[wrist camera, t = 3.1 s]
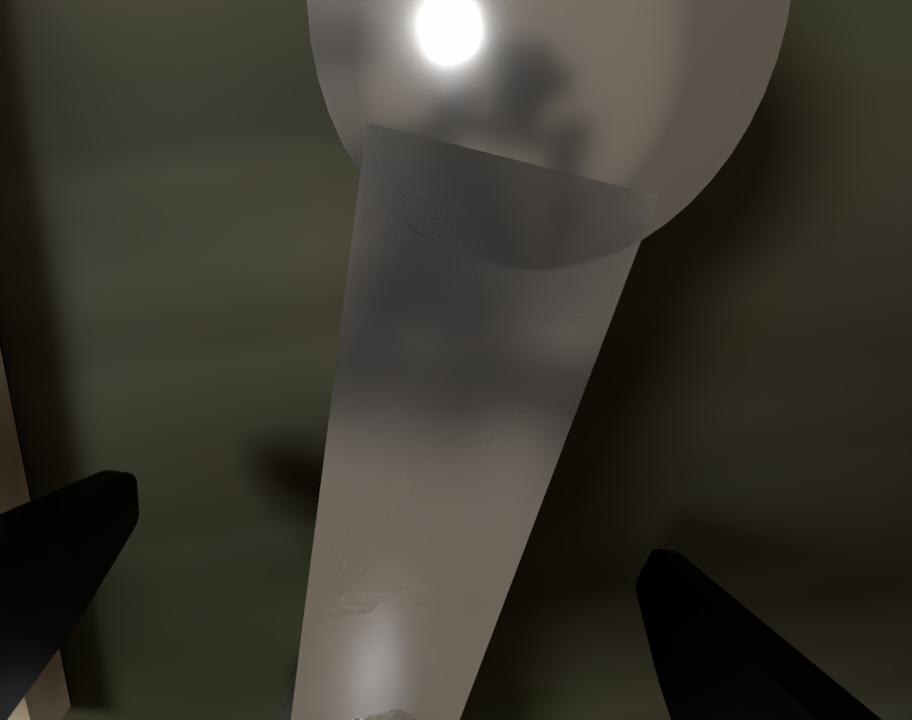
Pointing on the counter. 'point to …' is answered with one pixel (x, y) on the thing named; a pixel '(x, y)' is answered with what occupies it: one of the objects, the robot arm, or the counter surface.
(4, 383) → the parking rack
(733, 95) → the grey rod with balls
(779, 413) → the counter surface
